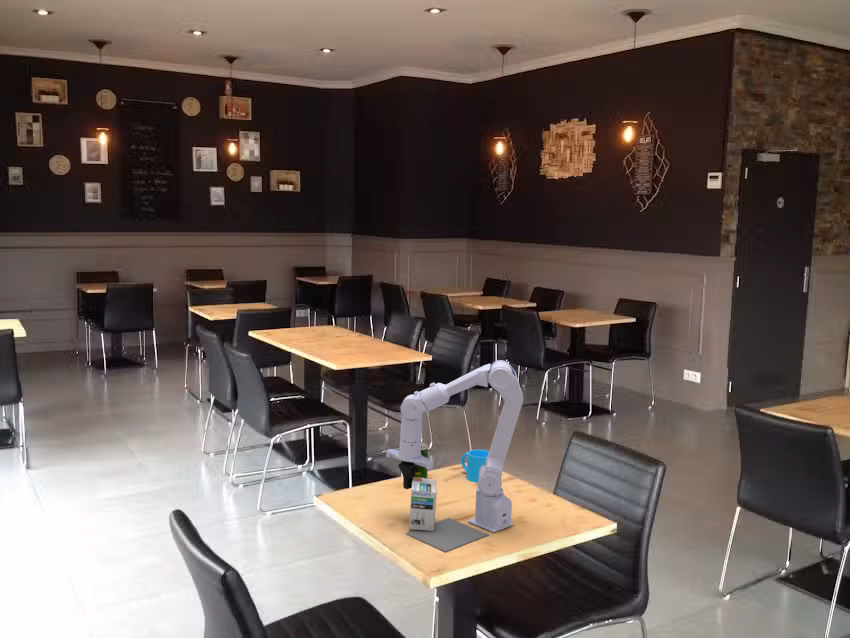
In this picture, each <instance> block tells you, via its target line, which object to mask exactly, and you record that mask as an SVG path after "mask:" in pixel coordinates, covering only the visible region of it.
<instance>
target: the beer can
mask: <svg viewBox="0 0 850 638" xmlns="http://www.w3.org/2000/svg"><path fill="white" fill-rule="evenodd" d="M420 453H421V455H422V456H424V457H426V458H428V459H429V446H428V443H427V442H423V441H421V452H420ZM428 470H429V469H426V467H423V466H419V467H418V468H417V470H416V472H415V474H414V476H413V477H416V478H425V479H428V472H429V471H428Z"/></svg>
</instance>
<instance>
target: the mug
mask: <svg viewBox="0 0 850 638" xmlns="http://www.w3.org/2000/svg"><path fill="white" fill-rule="evenodd" d="M489 451H490V450H485V449H473V450H469V451H467V452H465V453H464V454H463V455H462V456H461V459H460V462H461V463H460V464H461V466H462V469H463V470H464V471H465V472H466V480H468V481H469V482H471V483H475V484H476V483H477V484H478V480H479V470H480V468H481V466H482V465H483V464H484V463H485V462H486V459H487V456H488V454H489ZM465 460H466V461H465ZM465 462H466V463H465Z"/></svg>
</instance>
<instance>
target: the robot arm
mask: <svg viewBox="0 0 850 638" xmlns="http://www.w3.org/2000/svg"><path fill="white" fill-rule="evenodd" d="M489 385H490V386H491V387H492V388H493V389H494V390H495V391H496V392H497V393H499V394H500V396H501V397H502V399H503V401H504V402H503V405H502V409H501V412H500V416H499V420H498V422H497V425H496V428H495V432H494V436H493V439H492V441H491V445H490V448H489V450H488V451H489V454H488V456H487V459H486V462H485V463H484V464H483V465H482V466H481V468H480V470H479V480H478V483H477V487H476V488H475V490H476V491H475V512H474V513H475V515H474V516H475V517H474V518H470V519H468V522H467V523H468V524H472V525H475V526H477V527H480V528H481V529H483V530H486V531H490V532H492V533H496V532H499V531H502V530H504V529H507V528H509V527H512V526H513V525H514V524H513V522H512V511H513V510H512V509H513V508H512V507H513V506H512V505H513V504H512V499H510V497H507V495H505V493H504V489H503V487H502V485H503V483H502V477H503V471H504V464H505V461H506V457H507V454H508V451H509V449H510V444H511V442H512V438H513V436H514V435H513V434H514V432H515V428H516V426H517V422H518V419H519V416H520V412H521V410H522V406H523V404H524V395H523V391H522V388H521V386H520V382H519V379H518V375H517V372H516V371H515V369H514V367H512V366H511V364H510V363H509V362H507V361H506V360H503V359H502V360H501V359H500V360H499V359H498V360H496V361H494V362H493V363H492V364H491V363H488V364H484V365H482V366H480V367H478V368H475V369H474V370H471V371H470V372H468V373H465V374H464V375H462V376H460V377H458V378H456V379H455V380H452V381H450V382H449V383H446V384H444V383H441V382H437V383H435V382H432V383H430V384H429V387H427V388H425V389H422V390H421V391H418V390H416V391H414V392H413V394H409V395H407V396H406V397H404V399H403V401H402V403H401V405H400V413H401V421H400V429H399V430H400V434H399V449H393V448H389V449H387V450H386V455H385V456H386V458H392V459H395V460H398V461H400V463H398V466H397V467H398V469H399V471H400V472H401V475H402V477H403V484H402V487H403V489H405V490H409V489H412V479H413V476H414V474H415V472H416V470H417V468H418V467H419V466H423V467H426V469H428V470H431V469H433V468H434V460H432V459H430V458H429V457H428V458H426V457H424V456H422V455H421V453H420V452H421V442H422V433H423V432H422V431H423V430H422V429H423V428H422V427H423V423H422V419H423V418H422V416H423V413H428V412H430V411H432V410H434V409H436V408H438V407H441V406H443V405H445V404H447V403H449V401H450V397H451V396H454V395H456V394H458V393H460V392H463V391H465V390H468V389H471V388H473V387H475V386H479V387H480V386H481V387H484V388H488V387H489Z"/></svg>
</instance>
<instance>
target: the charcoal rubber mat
mask: <svg viewBox="0 0 850 638" xmlns="http://www.w3.org/2000/svg"><path fill="white" fill-rule="evenodd" d="M405 535H406V536H408V537H411V538H413V539H415V540H418V541H420V542H422V543H424V544H425V545H429V546H430V547H433V548H435V549H437V550H439V551H442V552H443V553H448V552H450V551H453V550H455V549H458V548H461V547H463V546H466V545H468V544H471V543H473V542H475V541H478V540H480V539H483V538H486V537H489V536H490V534H489V533H487V532H484V531H482V530H480V529H477V528H475V527H472V526H470V525H467V524H465V523H463V522H460V521H457V520H456V519H453V518H450V517H448V518H444V519H442V520H438V521H436V522H434V531H427V530H415V529H412V530H411V531H408V532H406V533H405Z"/></svg>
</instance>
